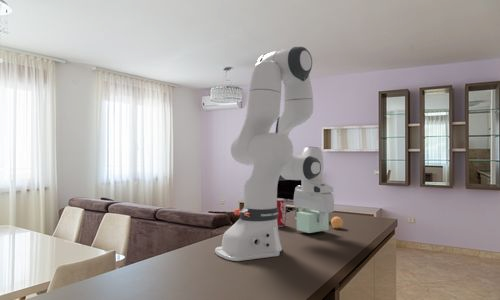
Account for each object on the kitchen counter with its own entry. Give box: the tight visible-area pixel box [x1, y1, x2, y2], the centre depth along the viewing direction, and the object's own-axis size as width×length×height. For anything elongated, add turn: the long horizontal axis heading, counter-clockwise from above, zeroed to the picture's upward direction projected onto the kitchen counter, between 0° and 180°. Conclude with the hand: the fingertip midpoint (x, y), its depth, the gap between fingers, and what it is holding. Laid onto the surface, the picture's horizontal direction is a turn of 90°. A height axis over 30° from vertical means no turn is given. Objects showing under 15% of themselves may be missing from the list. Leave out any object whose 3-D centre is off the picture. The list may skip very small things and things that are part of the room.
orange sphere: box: [330, 216, 344, 229], centre depth 147 cm, size 5×5×5 cm
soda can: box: [277, 197, 287, 228], centre depth 152 cm, size 7×7×12 cm
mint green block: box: [296, 210, 330, 234], centre depth 139 cm, size 11×7×7 cm
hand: (312, 220), depth 139 cm, fingers closed on mint green block, 7 cm apart
